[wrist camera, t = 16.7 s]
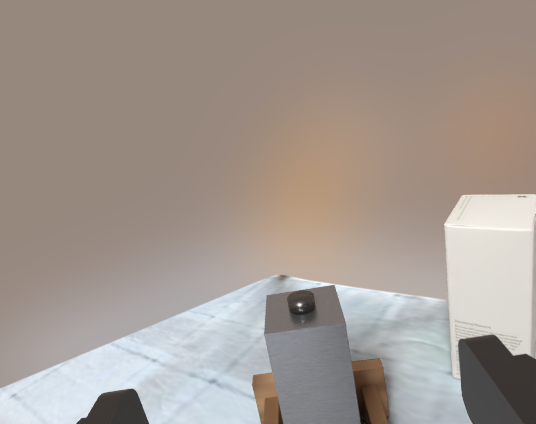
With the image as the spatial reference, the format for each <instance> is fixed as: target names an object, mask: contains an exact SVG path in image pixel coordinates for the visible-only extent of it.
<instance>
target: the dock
mask: <svg viewBox="0 0 536 424" xmlns="http://www.w3.org/2000/svg"><path fill="white" fill-rule="evenodd" d="M352 369H353V376H354V383H355V389H356V396H357V403H358V409H359V416H360V420H364V419H366V422H367V424H388V421H387V418H386V417H389V411H388V403H387V396H386V388H385V380H384V372H383V366H382V363H381V361H380V358H377V359H370V360H362V361H355V362H352ZM252 386H253V390H254V394H255V399H256V403H257V407H258V411H259V416H260V420H261V424H283V419H282V415H281V410H280V405H279V401H278V396H277V391H276V387H275V382H274V377H273V373H266V374H259V375H253V383H252Z"/></svg>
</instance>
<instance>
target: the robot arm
mask: <svg viewBox="0 0 536 424" xmlns="http://www.w3.org/2000/svg"><path fill="white" fill-rule="evenodd" d="M458 353H459V365H460V377H461V390H462V396H463V401H464V404H465V407H466V410H467V413H468V415H469V417H470V420H471V422H472V423H473V424H536V359H535V358H533V357H531V356H529V355H528V354H520V355H514V356H513V355H512V353H511V352H510V351H509V350H508V349H507V348H506V346H505V345H504V344H503V343H502V342H501V341H500V339H499V338H498V337H497V336H495V335H493V334H491V335H484V336H478V337H471V338H465V339H460V340H459V342H458ZM76 424H149V422H148V420H147V417H146V415H145V412H144V409H143V407H142V404H141V401H140V399H139V396H138V394H137V392H136V391H135V390H134V389H126V390H119V391H113V392H106V393H103V394H101V395H100V396H99V397H98V399H97V401H96V402H95V404H94V406H93V407H92V409H91V411H90V412H89V414H88V416H87V418H81V419H80V420H79V421H78V422H77V423H76Z"/></svg>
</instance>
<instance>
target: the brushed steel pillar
mask: <svg viewBox="0 0 536 424" xmlns="http://www.w3.org/2000/svg"><path fill="white" fill-rule="evenodd" d="M264 335H265V340H266V345H267V349H268V354H269V359H270V363H271V368H272V373H273V377H274V382H275V387H276V391H277V396H278V401H279V405H280V410H281V415H282V419H283V424H361V423H360V416H359V409H358V403H357V396H356V389H355V383H354V376H353V369H352V362H351V356H350V349H349V342H348V336H347V329H346V322H345V319H344V316H343V312H342V309H341V306H340V302H339V299H338V296H337V292H336V289H335V285H331V286H325V287H318V288H312V289H305V290H299V291H292V292H286V293H280V294H273V295H267V300H266V315H265V331H264Z"/></svg>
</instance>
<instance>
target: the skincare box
mask: <svg viewBox="0 0 536 424" xmlns="http://www.w3.org/2000/svg"><path fill="white" fill-rule="evenodd" d="M444 227H445V243H446V244H445V245H446V265H447V284H448V305H449V325H450V344H451V365H452V377H453V378H455V379H459V380H461V377H460V365H459V353H458V342H459V340H460V339H465V338H471V337H478V336H484V335H491V334H493V335H495V336H497V337H498V338H499V339H500V341H501V342H502V343H503V344H504V345H505V346H506V348H507V349H508V350H509V351H510V352H511V353H512V355H513V356H514V355H520V354H528V355H529V356H531V357H533V358H536V194H532V195H530V194H529V195H528V194H527V195H526V194H525V195H463V196H462V197H461V198H460V200H459V202H458V203H457V205H456V206H455V208H454V210H453V211H452V213H451V215H450V216H449V218H448V219H447V221H446V222H445V224H444Z"/></svg>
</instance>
